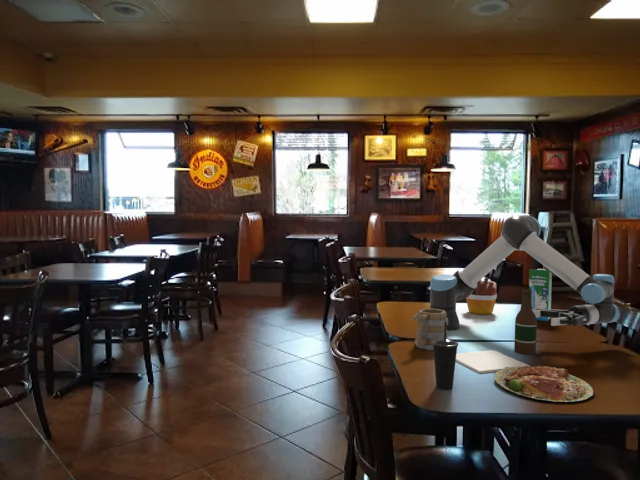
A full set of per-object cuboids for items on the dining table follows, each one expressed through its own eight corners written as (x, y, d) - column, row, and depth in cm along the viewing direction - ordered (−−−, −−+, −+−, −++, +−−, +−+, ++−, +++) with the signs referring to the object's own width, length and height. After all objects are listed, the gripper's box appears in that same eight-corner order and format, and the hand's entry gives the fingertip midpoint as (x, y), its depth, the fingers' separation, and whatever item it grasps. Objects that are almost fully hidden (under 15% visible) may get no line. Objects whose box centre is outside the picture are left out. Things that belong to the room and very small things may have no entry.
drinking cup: (428, 382, 157) (429, 319, 156) (452, 382, 158) (453, 319, 157) (435, 391, 150) (437, 324, 148) (461, 391, 150) (462, 324, 149)
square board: (446, 356, 186) (446, 354, 186) (493, 352, 192) (493, 350, 192) (479, 373, 167) (479, 371, 167) (529, 368, 173) (529, 365, 173)
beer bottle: (538, 355, 188) (540, 291, 186) (516, 354, 189) (517, 290, 188) (533, 349, 195) (535, 288, 194) (512, 348, 197) (514, 287, 196)
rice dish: (607, 412, 139) (609, 392, 138) (502, 400, 143) (503, 382, 143) (575, 378, 166) (576, 362, 166) (487, 370, 171) (488, 354, 170)
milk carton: (550, 318, 254) (552, 268, 252) (547, 321, 246) (549, 270, 245) (531, 315, 259) (532, 267, 257) (527, 319, 251) (529, 268, 250)
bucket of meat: (460, 308, 276) (461, 272, 275) (491, 309, 275) (492, 273, 274) (468, 316, 256) (469, 277, 255) (502, 317, 255) (503, 278, 254)
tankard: (427, 340, 209) (428, 304, 208) (454, 346, 200) (455, 308, 199) (398, 349, 195) (398, 310, 194) (425, 356, 186) (426, 315, 185)
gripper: (609, 331, 187) (563, 335, 181) (558, 317, 211) (516, 321, 205) (610, 311, 187) (563, 315, 180) (559, 300, 211) (516, 302, 204)
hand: (538, 318), depth 193 cm, fingers open, 13 cm apart
